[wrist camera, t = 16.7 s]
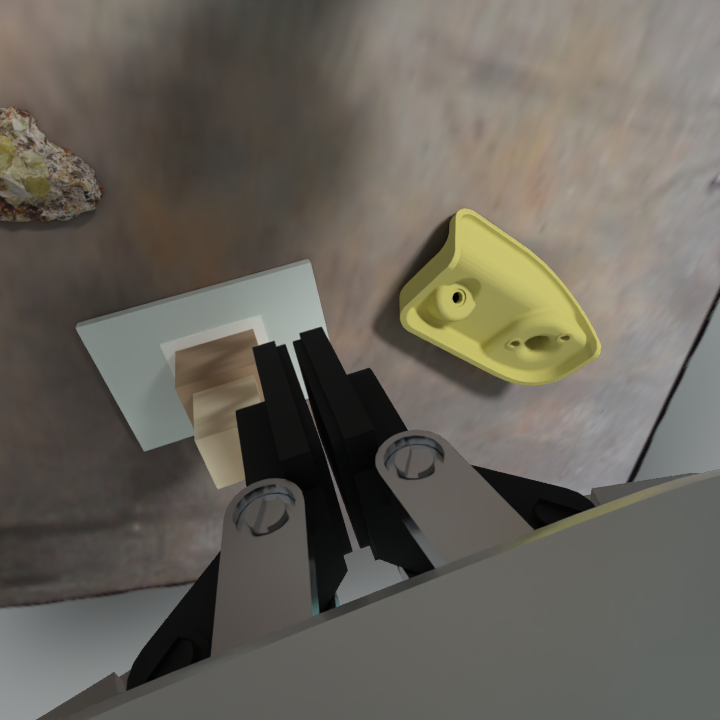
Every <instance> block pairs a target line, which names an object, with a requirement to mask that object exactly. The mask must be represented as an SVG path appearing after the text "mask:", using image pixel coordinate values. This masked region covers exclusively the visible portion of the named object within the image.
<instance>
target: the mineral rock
mask: <svg viewBox="0 0 720 720" xmlns="http://www.w3.org/2000/svg"><path fill="white" fill-rule="evenodd" d="M36 123H37V120H36V119H35V118H33V117H32V116H31V115H30V113H29V112H28V111H22V110H20V109H18V110H16V109H15V107H12V108H11V107H9V108H6V109H5V108H0V221H12V222H24V221H26V222H28V221H30V220H33V221H35V222H38V223H40V222H42V221H43V222H48V221H50V220H53V219H58V220H61V221H64V222H65V221H67V220H70V219H72V218H77V217H78V214H80V213H82V212H85V211H92V210H94V209H96V206H95V205H96V204H97V203H98V202H100V201H101V198H100V196H101V195H102V194H104V193H105V191H104V189H103V187H102V186H101V184H99V183H98V182H97V181H96V176H95V171H94V170H93V169H92V168H91V167H90V166H89V165H87V163H86V162H85V161H83V160H82V159H81V158H80V157H78V156H76V155H74V154H72V153H71V152H70V151H69V150H68V149H65V148H62V147H58V146H56V145H55V144H54V143H52V142H50V141H48V140H47V138H46V136H45V135H44V132H42V131H39V129H38V128H37V126H36Z"/></svg>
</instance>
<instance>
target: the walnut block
mask: <svg viewBox="0 0 720 720" xmlns="http://www.w3.org/2000/svg"><path fill="white" fill-rule="evenodd" d="M255 346H258V342H257V339H256V336H255V333H254V330H253V329H250V330H247V331H243V332H240V333H236V334H233V335H230V336H226V337H223V338H220V339H216V340H213V341H209V342H206V343H203V344H199V345H196V346H192V347H189V348H186V349H182V350H179V351H176V352H175V390H176V392H177V394H178V396H179V398H180V400H181V402H182V405H183V407H184V409H185V411H186V413H187V415H188V417H189V420H190V422H191V424H192V426H193V428H194V414H193V394H194V393H197V392H200V391H204V390H207V389H210V388H213V387H216V386H220V385H223V384H226V383H229V382H233V381H236V380H239V379H242V378H245V377H249V376H252V375H254V377H255V380H256V382H257V385H258V388H259V391H260V394H261V396H262V399H263V401H265V399H264V395H263V391H262V387H261V383H260V379H259V374H258V370H257V366H256V362H255V358H254V354H253V350H252V347H255Z"/></svg>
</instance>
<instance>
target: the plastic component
mask: <svg viewBox="0 0 720 720" xmlns="http://www.w3.org/2000/svg"><path fill="white" fill-rule="evenodd" d="M455 292H457V293H458V294H459V300H458V302H457V303H454V302H453V299H452V297H453V294H454V293H455ZM399 303H400V321H401V324H402V326H403V327H404V328H405V329H406V330H407V331H409V332H411V333H413V334H415V335H416V336H418V337H420V338H422V339H424V340H426V341H428V342H430V343H432V344H434V345H436V346H438V347H440V348H442V349H443V350H445V351H447V352H449V353H451V354H453V355H455V356H457V357H459V358H461V359H463V360H465V361H467V362H468V363H470V364H472V365H474V366H476V367H478V368H480V369H482V370H484V371H486V372H488V373H490V374H492V375H494V376H496V377H498V378H500V379H503V380H505V381H508V382H511V383H514V384H518V385H526V386H536V385H544V384H549V383H552V382H556V381H558V380H561V379H563V378H565V377H567V376H569V375H571V374H572V373H574V372H576V371H577V370H579V369H581V368H582V367H584V366H585V365H587V364H589V363H590V362H592V361H594V360H595V359H597V358H598V356H599V355H600V352H601V344H600V341H599V339H598V337H597V335H596V333H595V331H594V329H593V327H592V325H591V323H590V322H589V320H588V318H587V317H586V315H585V313H584V312H583V310H582V309H581V307H580V305H579V304H578V302H577V301H576V300H575V298H574V297H573V295H572V294H571V293H570V291H569V290H568V289H567V287H566V286H565V285H564V284H563V282H562V281H561V280H560V279H559V278H558V277H557V275H556V274H555V273H554V272H553V271H552V270H551V269H550V268H549V267H548V266H547V265H546V264H545V263H544V262H543V261H542V260H541V259H540V258H538V257H537V256H536V255H535V254H534V253H533V252H531V251H530V250H529V249H528V248H526V247H525V246H523V245H522V244H520V243H519V242H518V241H516V240H515V239H513V238H512V237H510V236H509V235H507V234H506V233H505V232H503V231H502V230H500V229H499V228H497V227H496V226H495V225H493V224H492V223H490V222H489V221H487V220H486V219H484V218H483V217H482V216H480V215H479V214H477V213H476V212H474V211H472V210H470V209H461V210H459V211H458V212H457V213H456V214H455V215H454V216H453V217H452V219H451V221H450V224H449V236H448V239H447V241H446V243H445V245H444V246H443V248H442V249H441V250H440V251H439V253H438V254H437V255H436V256H435V257H433V258H432V259H431V260H430V261H429V262H428V263H427V264H426V265H425V266H424V267H423V268H422V269H421V270H420V271H419V272H418V273H417V274H416V275H415V276H414V277H413V278H412V279H411V280H410V281H409V282H408V283H407V284H406V285H405V286H404V287H403V288H402V290H401V292H400V296H399ZM564 335H566V336H564ZM562 336H564V337H562ZM514 341H516V342H514Z"/></svg>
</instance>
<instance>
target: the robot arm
mask: <svg viewBox="0 0 720 720" xmlns="http://www.w3.org/2000/svg"><path fill="white" fill-rule="evenodd" d="M299 335H300V339H299V340H296V341H292V342H293V346H294V350H295V353H296V357H297V360H298V364H299V367H300V370H301V374H302V377H303V381H304V384H305V388H306V391H307V395H308V398H309V402H310V405H311V409H312V412H313V416H314V419H315V422H316V426H317V429H318V433H319V436H320V439H321V442H322V444H323V447H324V450H325V453H326V455H327V458H328V461H329V464H330V466H331V469H332V472H333V475H334V477H335V480H336V483H337V486H338V488H339V491H340V494H341V497H342V500H343V502H344V505H345V508H346V511H347V513H348V516H349V519H350V522H351V524H352V527H353V530H354V533H355V535H356V538H357V541H358V544H359V546H360V548H364V547H367V546H369V545H370V548H371V550H372V553H373V556H374V558H375V560H378V559H380V560H383V561H386V562H389V563H391V564H394V565H397V567H398V570H399V573H400V575H401V578H402V579H403V581H402V582H400V583H397V584H395V585H392V586H389V587H387V588H384V589H382V590H379V591H377V592H374V593H372V594H369V595H367V596H364V597H361V598H359V599H356V600H354V601H351V602H349V603H346V604H343V605H341V606H340V605H339V600H338V596H337V593H336V590H337V589H338V587H339V585H340V583H341V582H342V580H343V578H344V576H345V574H346V573H347V571H348V570H347V566H346V563H345V560H344V556H343V555H345V554H348V553H351V552H353V551H352V547H351V544H350V540H349V537H348V534H347V530H346V527H345V523H344V520H343V516H342V513H341V509H340V506H339V502H338V499H337V495H336V492H335V488H334V485H333V482H332V478H331V475H330V471H329V468H328V464H327V461H326V457H325V454H324V451H323V448H322V445H321V442H320V439H319V436H318V433H317V430H316V428H315V425H314V422H313V419H312V416H311V414H310V411H309V408H308V405H307V403H306V400H305V397H304V394H303V391H302V389H301V386H300V383H299V380H298V378H297V375H296V372H295V369H294V366H293V364H292V361H291V358H290V355H289V353H288V350H287V347H286V344H283V345H279V346H276V343H275V341H271V342H268V343H265V344H261V345H258V346H255V347H252V350H253V354H254V358H255V362H256V366H257V370H258V374H259V379H260V383H261V387H262V391H263V395H264V399H265V401H263V402H260V403H257V404H254V405H251V406H248V407H244V408H241V409H238V410H236V411H235V413H236V421H237V427H238V434H239V440H240V447H241V453H242V460H243V466H244V473H245V479H246V486H247V487H246V488H245V489H243V490H241V491H240V492H239V493H238V494H237V495H236V496H235V497H234V498H233V499H232V501H231V502H230V504H229V506H228V507H227V509H226V513H225V516H224V522H223V533H222V543H221V551H220V552H219V553H218V555H217V556H216V557H215V558H214V560H213V561H212V562H211V563H210V565H209V566H208V567H207V568H206V570H205V571H204V572H203V574H202V575H201V576H200V577H199V579H198V580H197V581H196V582H195V584H194V585H193V586H192V587H191V589H190V590H189V591H188V592H187V594H186V595H185V596H184V597H183V599H182V600H181V601H180V602H179V604H178V605H177V607H176V608H175V609H174V610H173V611H172V613H171V614H170V615H169V616H168V618H167V619H166V620H165V621H164V623H163V624H162V625H161V627H160V628H159V629H158V630H157V631H156V633H155V634H154V635H153V636H152V638H151V639H150V640H149V642H148V643H147V644H146V645H145V647H144V648H143V649H142V651H141V652H140V654H139V655H138V657H137V658H136V660H135V662H134V664H133V665H132V668H131V670H130V671H128V672H126V673H125V674H123V675H122V676H120V677H118V676H117V675H116V674H115V672H113V673H112V674H110V675H109V676H107V677H105V678H104V679H102V680H100V681H99V682H97V683H96V684H94V685H92V686H91V687H89V688H87V689H86V690H84V691H82V692H81V693H79V694H78V695H76V696H75V697H73V698H71V699H69V700H68V701H66V702H64V703H63V704H61V705H60V706H58V707H56V708H55V709H53V710H51V711H50V712H48V713H47V714H45V715H43V716H42V717H40V718H38V719H37V720H720V469H718V470H712V471H708V472H704V473H689V474H682V475H676V476H669V477H663V478H656V479H650V480H643V481H638V482H631V483H624V484H618V485H611V486H605V487H598V488H592V490H591V495H586V496H583V495H581V494H580V493H578V492H575V491H572V490H570V489H567V488H563V487H559V486H555V485H551V484H547V483H543V482H539V481H535V480H531V479H526V478H522V477H518V476H514V475H510V474H506V473H502V472H498V471H494V470H490V469H486V468H481V467H477V466H473V465H470V464H469V463H468V462H467V461H466V460H465V459H464V458H463V457H462V456H461V455H460V454H459V453H458V452H457V451H456V450H455V449H454V448H453V447H452V446H451V445H450V444H449V443H448V442H447V441H446V440H445V439H444V438H442V437H441V436H440V435H438V434H435V433H432V432H430V431H423V430H411V431H408V430H407V428H406V426H405V425H404V423H403V421H402V420H401V418H400V416H399V415H398V413H397V411H396V410H395V408H394V406H393V405H392V403H391V401H390V400H389V398H388V396H387V395H386V393H385V391H384V390H383V388H382V386H381V385H380V383H379V381H378V380H377V378H376V376H375V375H374V373H373V371H372V370H371V369H370V368H367V369H364V370H361V371H357V372H354V373H351V374H348V375H346V373H345V371H344V369H343V367H342V365H341V363H340V361H339V359H338V357H337V355H336V353H335V351H334V349H333V347H332V345H331V344H330V342H329V340H328V338H327V336H326V334H325V332H324V330H323V328H322V327H318V328H314V329H311V330H308V331H305V332H301V333H299Z"/></svg>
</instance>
